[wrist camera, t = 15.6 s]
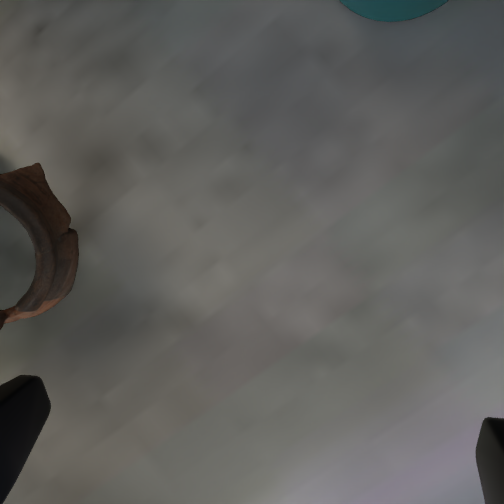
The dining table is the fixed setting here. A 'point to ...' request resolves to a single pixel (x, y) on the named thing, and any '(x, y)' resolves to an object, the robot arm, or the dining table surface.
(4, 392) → the robot arm
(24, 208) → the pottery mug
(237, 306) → the dining table surface
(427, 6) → the kettle
